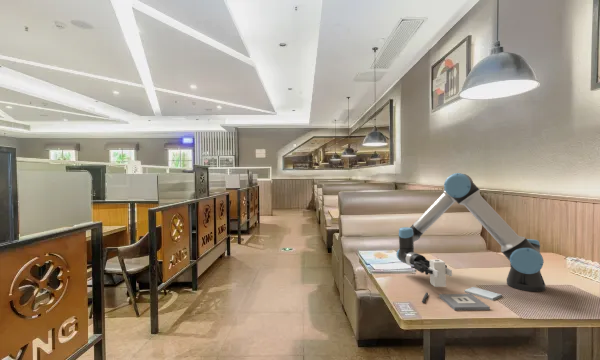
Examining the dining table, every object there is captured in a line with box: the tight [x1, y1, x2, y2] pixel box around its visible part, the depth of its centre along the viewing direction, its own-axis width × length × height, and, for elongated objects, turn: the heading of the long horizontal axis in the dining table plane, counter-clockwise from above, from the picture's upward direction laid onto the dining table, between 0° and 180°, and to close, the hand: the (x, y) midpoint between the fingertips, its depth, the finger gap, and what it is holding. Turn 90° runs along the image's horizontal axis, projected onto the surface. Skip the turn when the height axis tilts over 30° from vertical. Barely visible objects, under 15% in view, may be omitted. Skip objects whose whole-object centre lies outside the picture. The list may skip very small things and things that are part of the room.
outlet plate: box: [438, 293, 491, 311], centre depth 127 cm, size 14×14×2 cm
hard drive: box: [463, 286, 503, 301], centre depth 137 cm, size 2×8×12 cm
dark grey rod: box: [421, 292, 429, 304], centre depth 132 cm, size 11×1×1 cm, turn 149°
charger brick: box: [428, 258, 447, 288], centre depth 138 cm, size 5×5×11 cm
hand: (444, 273), depth 133 cm, fingers closed on charger brick, 6 cm apart
